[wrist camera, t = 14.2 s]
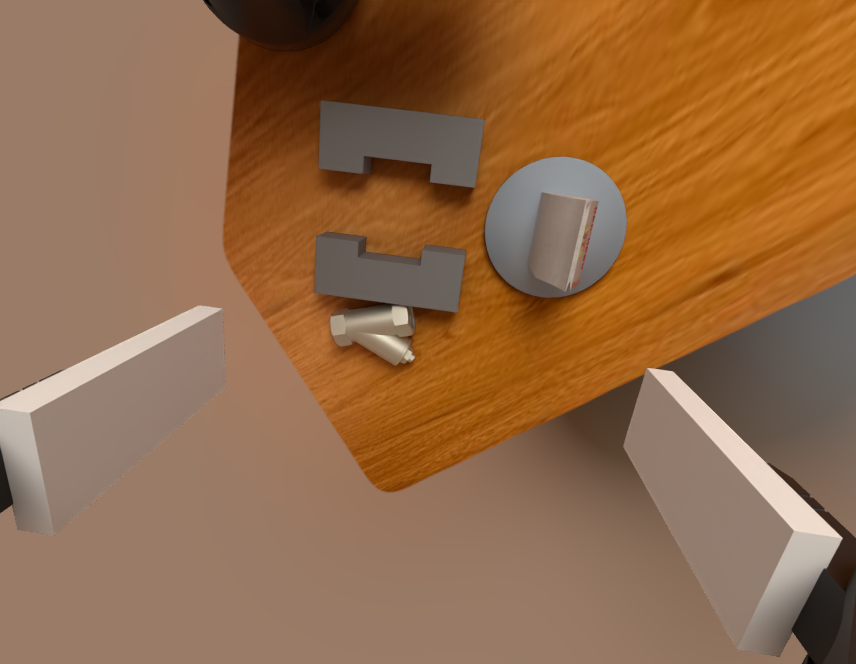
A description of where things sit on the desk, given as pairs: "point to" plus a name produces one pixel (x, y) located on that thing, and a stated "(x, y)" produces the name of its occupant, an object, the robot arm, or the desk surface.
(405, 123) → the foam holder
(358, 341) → the pipe fitting
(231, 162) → the desk surface
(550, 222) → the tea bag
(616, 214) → the blue-grey round plate
